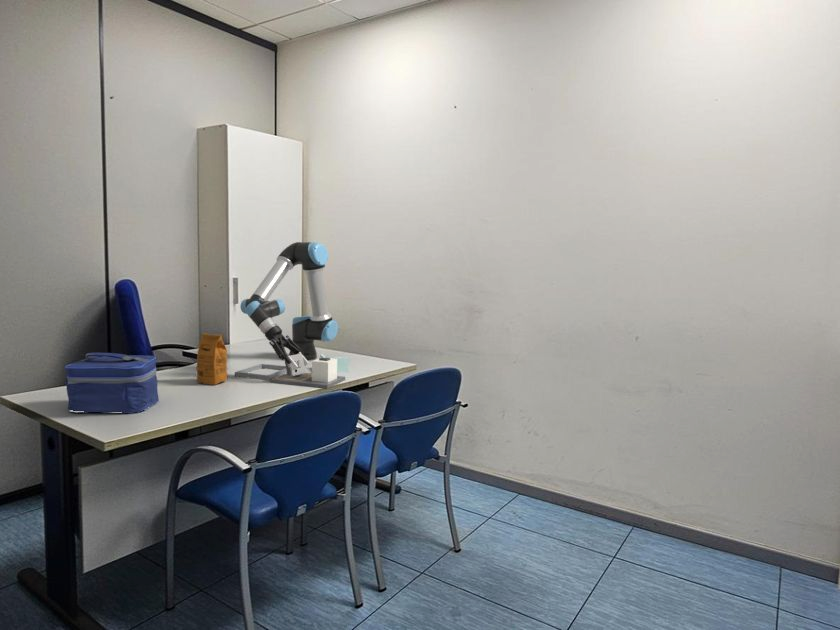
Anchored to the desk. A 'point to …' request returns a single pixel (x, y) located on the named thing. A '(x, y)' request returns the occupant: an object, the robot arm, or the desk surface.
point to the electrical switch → (299, 362)
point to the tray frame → (260, 376)
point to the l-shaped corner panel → (340, 363)
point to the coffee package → (211, 360)
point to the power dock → (307, 381)
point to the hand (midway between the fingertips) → (301, 366)
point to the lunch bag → (112, 383)
